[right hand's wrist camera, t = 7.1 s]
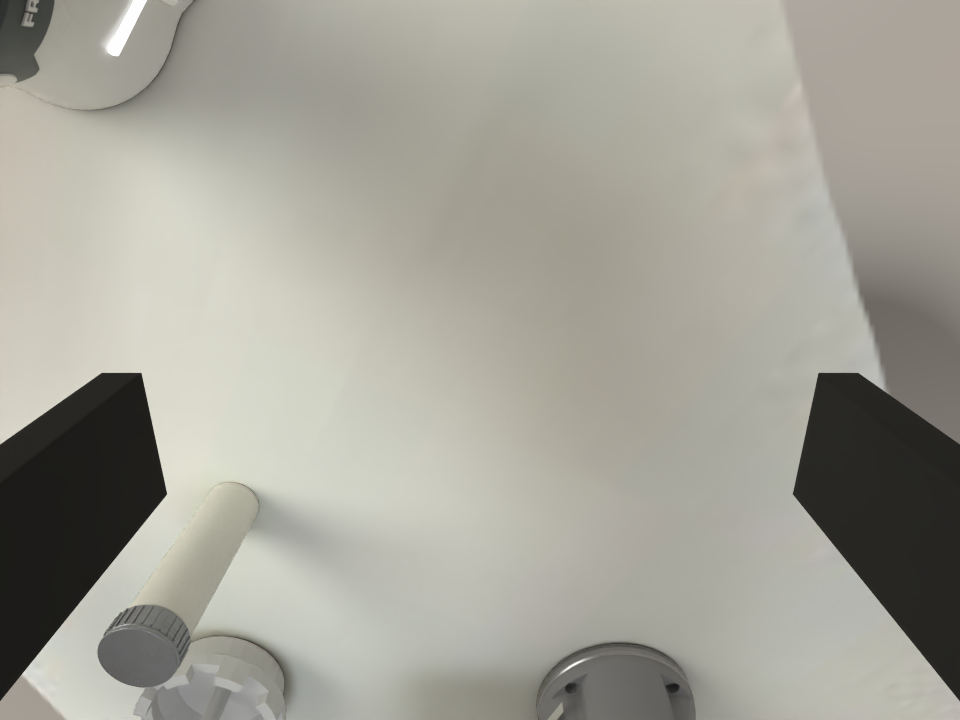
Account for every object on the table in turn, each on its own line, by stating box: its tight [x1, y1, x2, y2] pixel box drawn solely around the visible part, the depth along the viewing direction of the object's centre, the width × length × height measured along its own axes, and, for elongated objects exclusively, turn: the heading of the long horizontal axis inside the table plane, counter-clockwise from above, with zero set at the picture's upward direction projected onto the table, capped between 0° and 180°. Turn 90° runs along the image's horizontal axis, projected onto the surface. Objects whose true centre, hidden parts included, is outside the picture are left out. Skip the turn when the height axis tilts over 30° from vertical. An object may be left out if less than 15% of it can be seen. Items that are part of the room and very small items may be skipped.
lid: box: [98, 605, 191, 687], centre depth 41 cm, size 5×5×2 cm
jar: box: [129, 482, 259, 636], centre depth 48 cm, size 4×4×16 cm
